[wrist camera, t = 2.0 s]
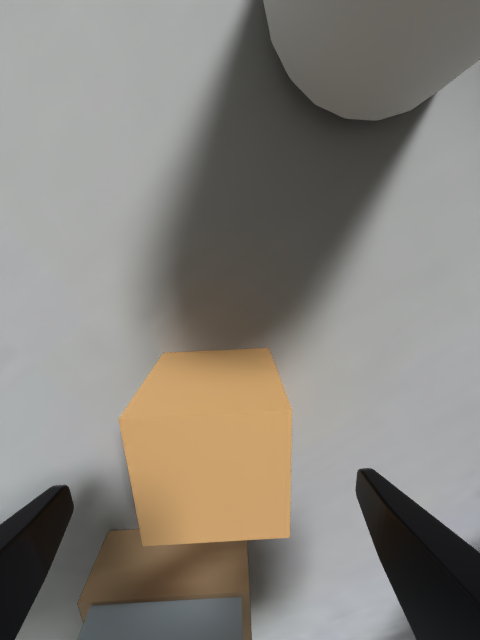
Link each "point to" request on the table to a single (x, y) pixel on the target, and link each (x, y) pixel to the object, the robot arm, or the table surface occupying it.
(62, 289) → the table surface
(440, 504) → the table surface
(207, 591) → the walnut base block
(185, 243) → the table surface
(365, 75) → the can
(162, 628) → the slate block
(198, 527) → the ochre cube
